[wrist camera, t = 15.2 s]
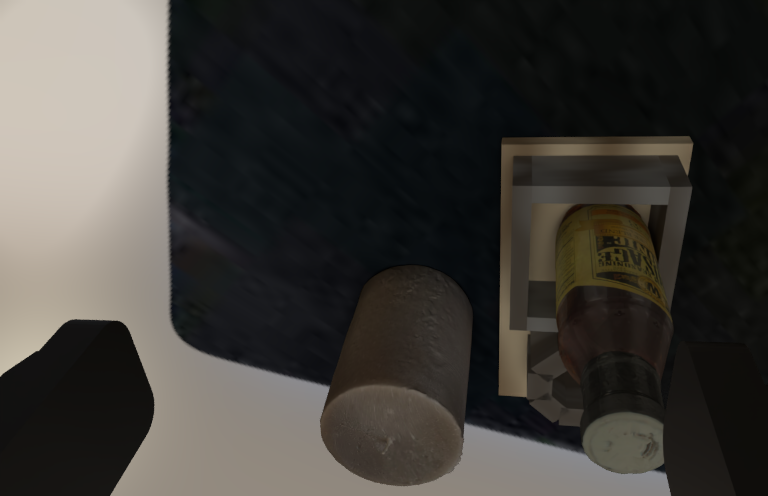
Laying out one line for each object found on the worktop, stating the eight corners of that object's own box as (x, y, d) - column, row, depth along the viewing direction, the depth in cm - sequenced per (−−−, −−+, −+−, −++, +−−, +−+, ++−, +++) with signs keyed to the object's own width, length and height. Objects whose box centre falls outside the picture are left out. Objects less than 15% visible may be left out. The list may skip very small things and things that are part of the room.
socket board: (689, 136, 43) (709, 174, 39) (645, 394, 55) (656, 447, 51) (502, 137, 46) (499, 174, 41) (499, 385, 58) (496, 435, 53)
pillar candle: (347, 336, 58) (301, 478, 45) (373, 247, 52) (329, 382, 40) (454, 368, 58) (437, 520, 45) (491, 283, 52) (484, 429, 40)
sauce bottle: (666, 227, 46) (746, 455, 29) (599, 282, 49) (637, 515, 32) (595, 171, 44) (636, 376, 28) (531, 232, 48) (535, 448, 31)
